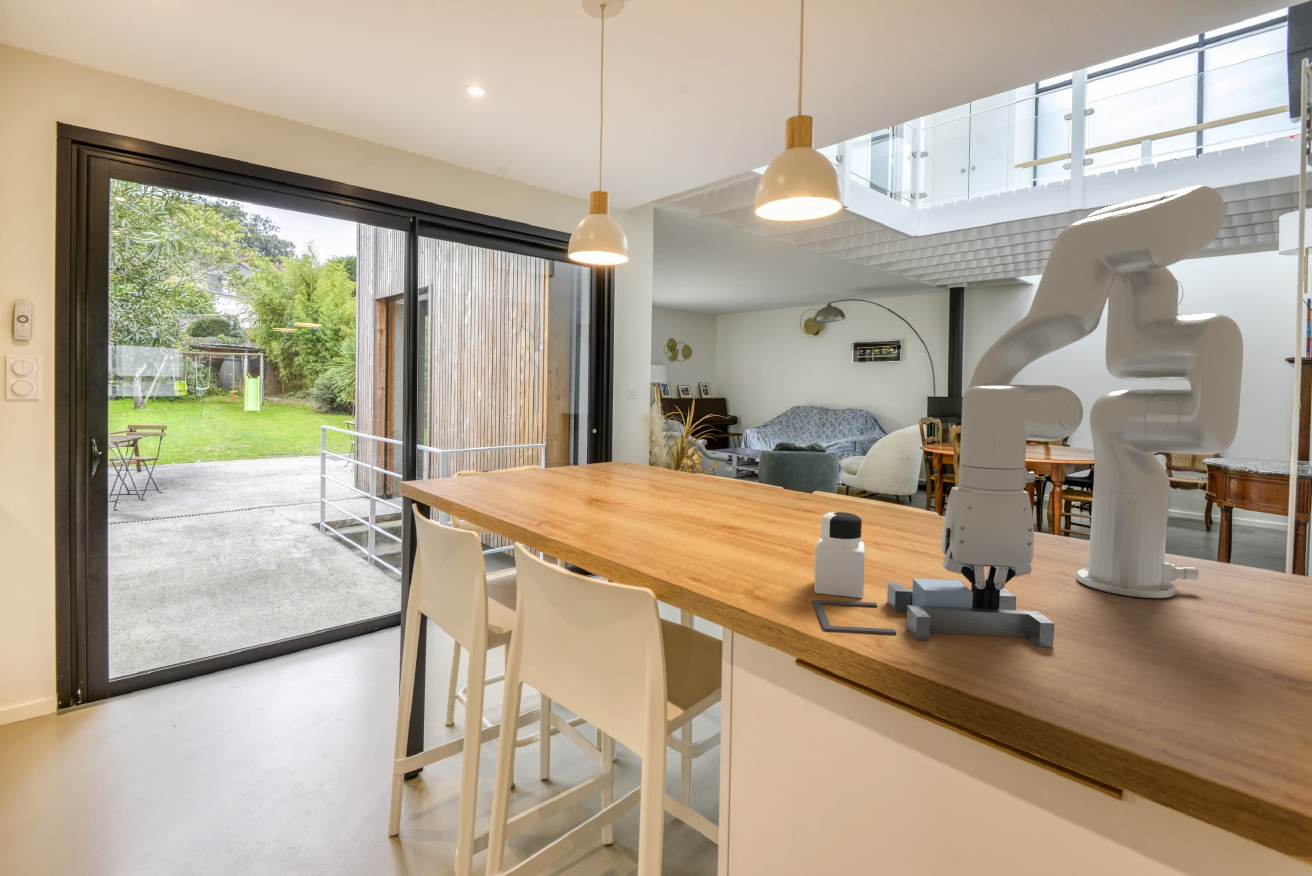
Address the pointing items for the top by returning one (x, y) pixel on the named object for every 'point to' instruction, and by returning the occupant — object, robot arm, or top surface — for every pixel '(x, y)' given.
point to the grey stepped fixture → (972, 618)
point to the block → (941, 593)
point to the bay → (827, 626)
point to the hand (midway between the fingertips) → (984, 615)
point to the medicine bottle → (840, 556)
